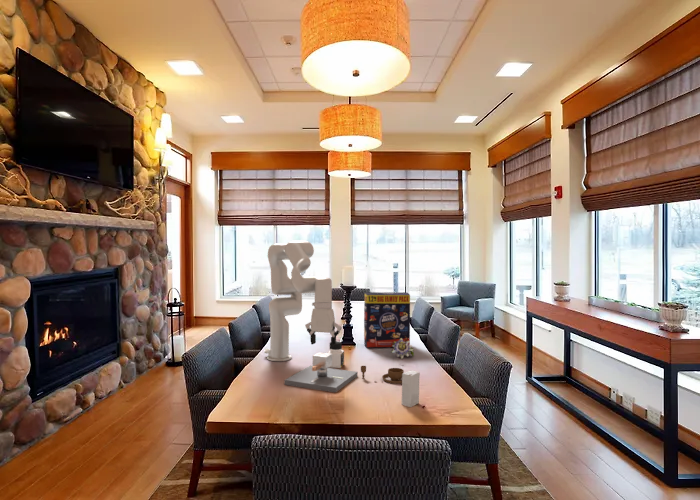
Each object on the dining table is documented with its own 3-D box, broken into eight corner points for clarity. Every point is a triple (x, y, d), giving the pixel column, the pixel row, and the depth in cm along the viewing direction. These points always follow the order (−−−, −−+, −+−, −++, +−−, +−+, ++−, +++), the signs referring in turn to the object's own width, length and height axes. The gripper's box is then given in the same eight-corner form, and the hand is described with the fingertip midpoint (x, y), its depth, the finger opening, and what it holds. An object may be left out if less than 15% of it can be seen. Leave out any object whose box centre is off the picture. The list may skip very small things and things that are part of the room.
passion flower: (401, 368, 232) (390, 351, 229) (396, 359, 242) (385, 343, 239) (419, 357, 232) (408, 339, 229) (413, 348, 243) (402, 331, 240)
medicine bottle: (340, 368, 212) (341, 343, 212) (326, 367, 214) (326, 342, 214) (344, 364, 219) (344, 340, 219) (330, 363, 221) (330, 339, 221)
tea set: (397, 388, 185) (398, 374, 185) (358, 379, 197) (358, 366, 196) (416, 378, 200) (416, 365, 200) (378, 370, 211) (378, 358, 211)
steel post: (315, 376, 193) (315, 367, 193) (319, 373, 197) (320, 364, 197) (324, 377, 191) (324, 368, 191) (328, 375, 195) (328, 366, 195)
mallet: (307, 370, 187) (307, 358, 187) (319, 363, 198) (319, 352, 198) (320, 371, 185) (320, 360, 185) (331, 365, 195) (332, 353, 195)
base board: (284, 384, 187) (284, 379, 187) (310, 369, 210) (310, 365, 210) (335, 392, 178) (335, 387, 178) (357, 376, 200) (357, 371, 200)
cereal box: (406, 343, 267) (406, 291, 267) (411, 347, 255) (411, 292, 256) (363, 344, 264) (363, 291, 264) (366, 348, 252) (366, 293, 253)
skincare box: (409, 400, 170) (410, 369, 170) (419, 403, 167) (420, 371, 167) (400, 405, 165) (401, 373, 165) (411, 408, 163) (411, 375, 162)
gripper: (301, 305, 193) (301, 344, 193) (337, 307, 186) (337, 348, 186) (309, 303, 200) (309, 341, 200) (344, 305, 193) (344, 344, 193)
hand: (323, 344), depth 193 cm, fingers open, 9 cm apart
